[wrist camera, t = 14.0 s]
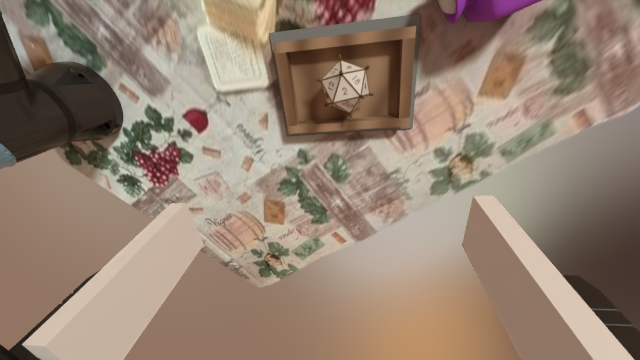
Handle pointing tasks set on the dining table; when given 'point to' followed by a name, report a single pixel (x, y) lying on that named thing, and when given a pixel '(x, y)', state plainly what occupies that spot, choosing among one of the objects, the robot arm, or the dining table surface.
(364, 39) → the brown wooden tray
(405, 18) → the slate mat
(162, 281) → the robot arm
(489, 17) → the toy camera
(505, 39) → the dining table surface
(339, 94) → the game die
